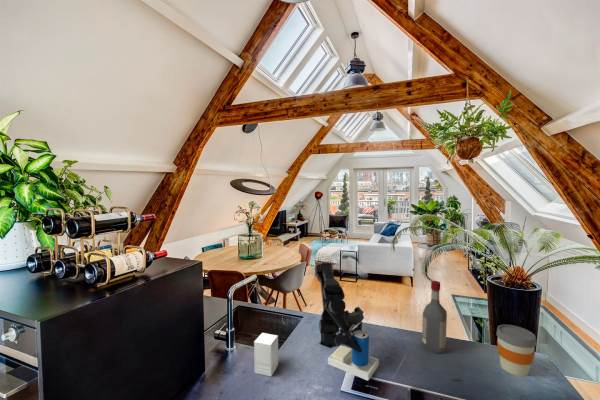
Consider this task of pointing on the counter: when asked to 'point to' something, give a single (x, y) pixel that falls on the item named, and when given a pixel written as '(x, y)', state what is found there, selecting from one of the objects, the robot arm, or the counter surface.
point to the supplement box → (266, 354)
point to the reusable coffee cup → (515, 349)
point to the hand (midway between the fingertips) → (363, 347)
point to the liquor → (434, 323)
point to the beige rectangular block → (343, 354)
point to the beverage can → (363, 343)
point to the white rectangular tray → (356, 367)
